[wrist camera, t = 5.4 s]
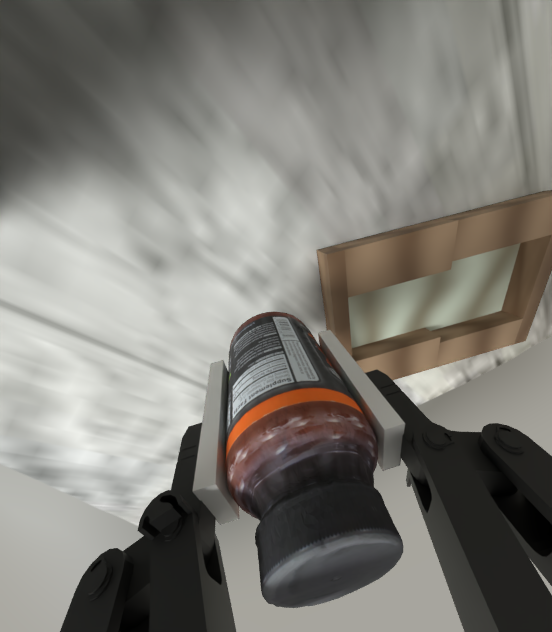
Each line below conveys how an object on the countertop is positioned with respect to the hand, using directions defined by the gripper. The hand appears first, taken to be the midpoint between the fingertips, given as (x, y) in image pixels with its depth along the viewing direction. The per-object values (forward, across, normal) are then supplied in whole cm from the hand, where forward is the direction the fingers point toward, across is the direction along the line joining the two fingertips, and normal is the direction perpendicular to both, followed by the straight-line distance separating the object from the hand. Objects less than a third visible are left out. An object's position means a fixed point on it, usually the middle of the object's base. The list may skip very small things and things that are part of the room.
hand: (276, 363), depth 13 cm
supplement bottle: (+3, 0, 0) cm, 3 cm away
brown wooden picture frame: (+8, +18, -4) cm, 20 cm away
